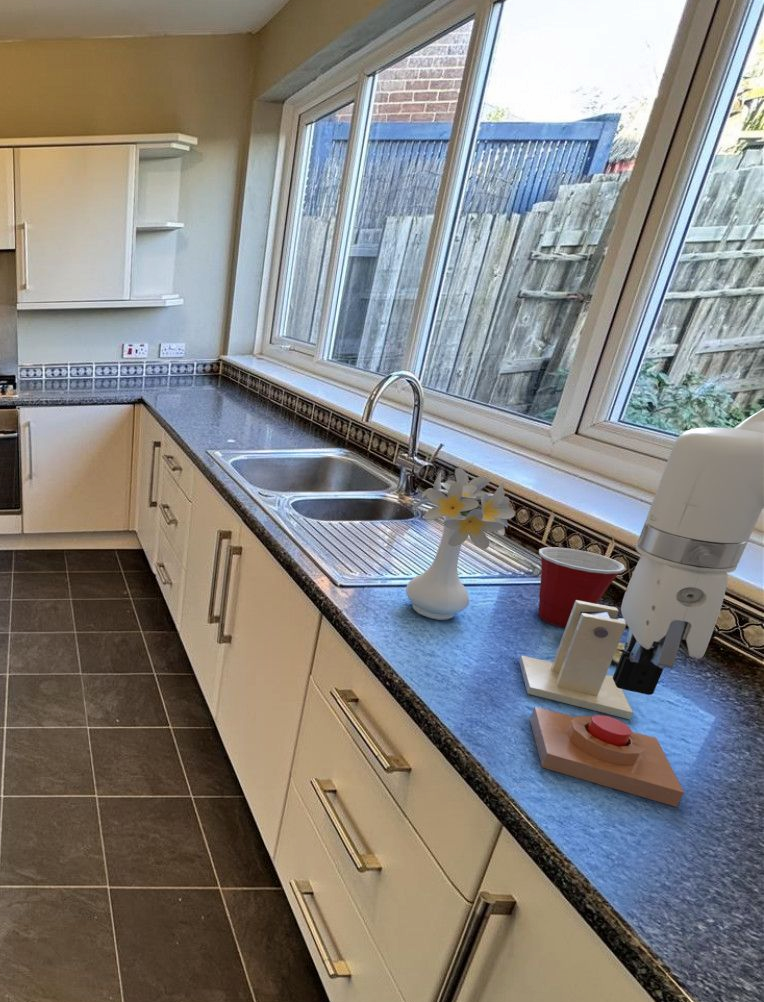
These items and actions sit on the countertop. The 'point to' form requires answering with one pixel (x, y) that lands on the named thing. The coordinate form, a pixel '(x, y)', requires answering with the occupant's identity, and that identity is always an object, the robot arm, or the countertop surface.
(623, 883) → the countertop surface
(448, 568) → the flower vase
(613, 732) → the red button
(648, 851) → the countertop surface
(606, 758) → the control block
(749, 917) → the countertop surface
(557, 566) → the plastic cup
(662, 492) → the robot arm
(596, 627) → the lever bracket
